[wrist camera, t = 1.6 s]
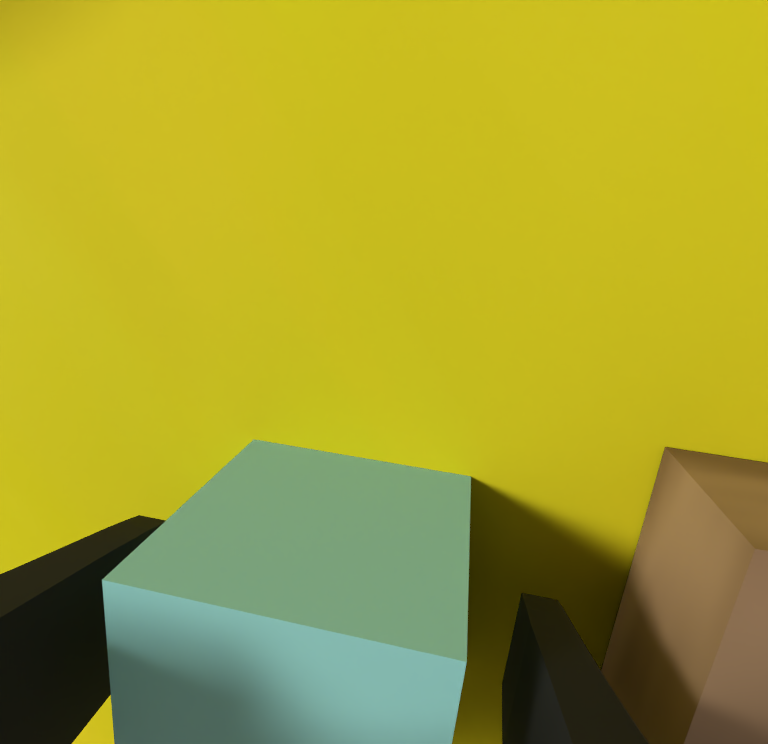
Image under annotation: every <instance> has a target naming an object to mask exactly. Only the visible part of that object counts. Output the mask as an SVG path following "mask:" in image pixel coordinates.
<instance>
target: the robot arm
mask: <svg viewBox="0 0 768 744" xmlns="http://www.w3.org/2000/svg"><path fill="white" fill-rule="evenodd" d="M164 522H165V521H164V520H160V519H155V518H150V517H145V516H140V515H139V516H136V517H133V518H130V519H128V520H125V521H123V522H120V523H118V524H115V525H113V526H110V527H108V528H106V529H103V530H101V531H99V532H96V533H94V534H92V535H90V536H87V537H85V538H83V539H81V540H78V541H76V542H74V543H71V544H69V545H67V546H65V547H62V548H60V549H58V550H56V551H53V552H51V553H49V554H46V555H44V556H42V557H40V558H37V559H35V560H33V561H30V562H28V563H26V564H24V565H21V566H19V567H17V568H14V569H12V570H10V571H7V572H5V573H2V574H0V744H72V742H73V741H74V740H75V739H76V737H77V736H78V735H79V734H80V732H81V731H82V730H83V728H84V727H85V726H86V725H87V723H88V722H89V721H90V720H91V718H92V717H93V716H94V715H95V713H96V712H97V711H98V710H99V708H100V707H101V706H102V705H103V703H104V702H105V701H106V699H107V698H108V697H109V696H110V694H111V690H110V677H109V664H108V651H107V638H106V625H105V612H104V599H103V586H102V579H103V578H105V577H106V576H107V575H108V574H109V573H110V572H111V571H112V570H113V569H114V568H115V567H116V566H118V565H119V564H120V563H121V562H122V561H123V560H124V559H125V558H126V557H127V556H128V555H129V554H130V553H132V552H133V551H134V550H135V549H136V548H137V547H138V546H139V545H140V544H141V543H142V542H143V541H145V540H146V539H147V538H148V537H149V536H150V535H151V534H152V533H153V532H154V531H155V530H156V529H158V528H159V527H160V526H161V525H162V524H163V523H164ZM502 741H503V744H649V743H648V741H647V740H646V739H645V737H644V736H643V734H642V733H641V731H640V730H639V728H638V727H637V725H636V724H635V722H634V721H633V719H632V718H631V716H630V715H629V713H628V712H627V710H626V709H625V707H624V706H623V704H622V703H621V701H620V700H619V698H618V697H617V695H616V694H615V692H614V691H613V689H612V688H611V686H610V685H609V683H608V681H607V680H606V678H605V677H604V675H603V674H602V672H601V670H600V669H599V667H598V665H597V664H596V662H595V661H594V659H593V657H592V656H591V654H590V652H589V651H588V649H587V648H586V646H585V644H584V643H583V641H582V639H581V638H580V636H579V634H578V633H577V631H576V629H575V627H574V626H573V624H572V622H571V621H570V619H569V617H568V616H567V614H566V612H565V611H564V609H563V607H562V606H561V604H560V603H559V602H558V600H555V599H550V598H545V597H540V596H535V595H530V594H525V593H522V594H521V598H520V603H519V608H518V612H517V617H516V622H515V626H514V631H513V636H512V640H511V645H510V650H509V654H508V659H507V663H506V668H505V673H504V677H503V682H502Z"/></svg>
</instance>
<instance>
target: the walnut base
mask: <svg viewBox="0 0 768 744" xmlns="http://www.w3.org/2000/svg"><path fill="white" fill-rule="evenodd" d="M601 672H602V674H603V675H604V677H605V678H606V680H607V681H608V683H609V685H610V686H611V688H612V689H613V691H614V692H615V694H616V695H617V697H618V698H619V700H620V701H621V703H622V704H623V706H624V707H625V709H626V710H627V712H628V713H629V715H630V716H631V718H632V719H633V721H634V722H635V724H636V725H637V727H638V728H639V730H640V731H641V733H642V734H643V736H644V737H645V739H646V740H647V741H648V743H649V744H768V463H765V462H758V461H752V460H745V459H739V458H733V457H726V456H720V455H713V454H707V453H700V452H694V451H687V450H681V449H675V448H668V447H665V449H664V453H663V456H662V460H661V463H660V467H659V470H658V474H657V477H656V481H655V484H654V488H653V491H652V495H651V498H650V502H649V505H648V509H647V512H646V516H645V519H644V523H643V526H642V530H641V533H640V537H639V540H638V544H637V547H636V551H635V554H634V558H633V561H632V565H631V568H630V572H629V575H628V579H627V582H626V586H625V589H624V593H623V596H622V600H621V603H620V607H619V610H618V614H617V617H616V621H615V624H614V628H613V631H612V635H611V638H610V642H609V645H608V649H607V652H606V656H605V659H604V663H603V666H602V670H601Z"/></svg>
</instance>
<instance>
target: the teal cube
mask: <svg viewBox="0 0 768 744" xmlns="http://www.w3.org/2000/svg"><path fill="white" fill-rule="evenodd" d="M470 502H471V477H470V476H465V475H459V474H453V473H447V472H441V471H435V470H429V469H424V468H418V467H412V466H406V465H400V464H394V463H388V462H383V461H377V460H371V459H365V458H359V457H353V456H348V455H342V454H336V453H330V452H324V451H318V450H312V449H307V448H301V447H295V446H289V445H283V444H277V443H271V442H266V441H260V440H253V441H252V442H251V443H250V444H248V445H247V446H246V447H245V448H244V449H243V450H242V451H241V452H240V453H239V454H238V455H237V456H235V457H234V458H233V459H232V460H231V461H230V462H229V463H228V464H227V465H226V466H225V467H224V468H222V469H221V470H220V471H219V472H218V473H217V474H216V475H215V476H214V477H213V478H212V479H211V480H209V481H208V482H207V483H206V484H205V485H204V486H203V487H202V488H201V489H200V490H199V491H198V492H197V493H195V494H194V495H193V496H192V497H191V498H190V499H189V500H188V501H187V502H186V503H185V504H184V505H182V506H181V507H180V508H179V509H178V510H177V511H176V512H175V513H174V514H173V515H172V516H171V517H169V518H168V519H167V520H166V521H165V522H164V523H163V524H162V525H161V526H160V527H159V528H158V529H156V530H155V531H154V532H153V533H152V534H151V535H150V536H149V537H148V538H147V539H146V540H145V541H143V542H142V543H141V544H140V545H139V546H138V547H137V548H136V549H135V550H134V551H133V552H132V553H130V554H129V555H128V556H127V557H126V558H125V559H124V560H123V561H122V562H121V563H120V564H119V565H118V566H116V567H115V568H114V569H113V570H112V571H111V572H110V573H109V574H108V575H107V576H106V577H105V578H103V579H102V586H103V599H104V612H105V625H106V638H107V651H108V664H109V677H110V690H111V703H112V716H113V729H114V742H115V744H452V740H453V735H454V729H455V724H456V718H457V713H458V707H459V702H460V696H461V691H462V685H463V680H464V675H465V669H466V664H467V632H468V589H469V546H470Z"/></svg>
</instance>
